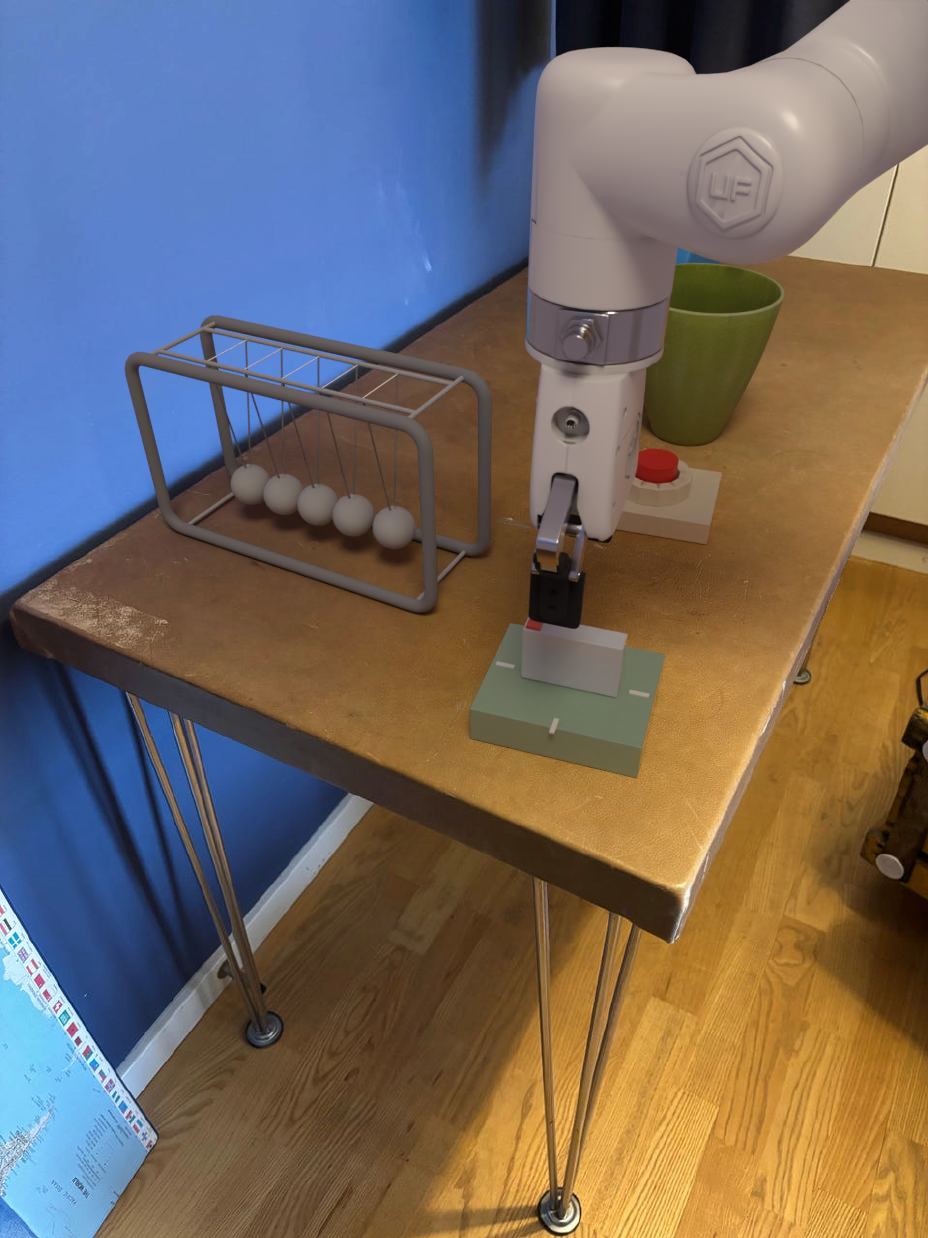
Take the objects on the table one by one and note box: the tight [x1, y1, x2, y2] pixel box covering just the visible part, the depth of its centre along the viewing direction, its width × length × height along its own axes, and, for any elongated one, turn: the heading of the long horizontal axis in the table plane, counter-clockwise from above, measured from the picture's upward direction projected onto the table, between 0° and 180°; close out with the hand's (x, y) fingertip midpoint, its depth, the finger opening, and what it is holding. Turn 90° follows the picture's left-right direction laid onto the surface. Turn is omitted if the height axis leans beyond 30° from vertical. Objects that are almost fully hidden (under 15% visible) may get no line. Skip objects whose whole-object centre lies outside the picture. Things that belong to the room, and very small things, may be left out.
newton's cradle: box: [124, 314, 493, 614], centre depth 79 cm, size 30×10×18 cm, turn 61°
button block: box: [615, 459, 723, 545], centre depth 88 cm, size 12×10×4 cm
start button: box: [635, 448, 680, 484], centre depth 86 cm, size 4×4×2 cm
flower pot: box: [644, 263, 785, 447], centre depth 96 cm, size 15×15×16 cm
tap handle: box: [521, 615, 629, 698], centre depth 64 cm, size 7×2×5 cm, turn 71°
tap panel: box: [469, 622, 666, 779], centre depth 66 cm, size 12×11×3 cm
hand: (572, 577), depth 60 cm, fingers open, 9 cm apart
